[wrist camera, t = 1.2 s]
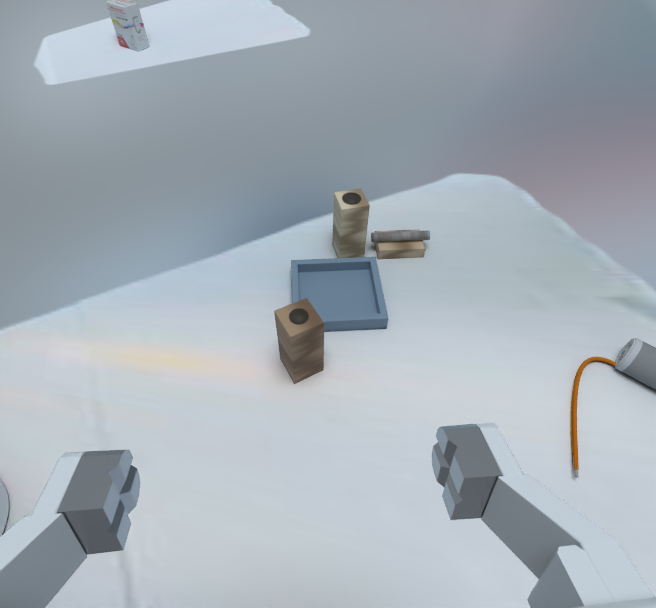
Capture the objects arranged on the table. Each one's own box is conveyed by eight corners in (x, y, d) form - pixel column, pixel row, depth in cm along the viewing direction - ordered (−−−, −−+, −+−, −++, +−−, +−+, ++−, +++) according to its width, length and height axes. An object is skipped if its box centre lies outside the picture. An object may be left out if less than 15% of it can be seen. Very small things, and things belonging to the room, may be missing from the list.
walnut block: (294, 383, 58) (290, 336, 50) (280, 359, 61) (274, 310, 52) (323, 369, 60) (324, 321, 51) (308, 346, 62) (306, 296, 54)
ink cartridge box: (119, 46, 133) (100, -11, 122) (131, 41, 136) (114, -15, 125) (138, 52, 131) (121, -6, 119) (150, 47, 133) (134, -10, 122)
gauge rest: (372, 259, 74) (374, 243, 71) (368, 239, 77) (370, 224, 75) (428, 256, 75) (433, 241, 72) (422, 237, 78) (426, 222, 75)
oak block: (339, 261, 74) (341, 208, 65) (332, 243, 77) (334, 191, 68) (363, 256, 75) (369, 204, 66) (356, 240, 77) (361, 187, 69)
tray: (293, 333, 64) (292, 323, 62) (291, 270, 72) (291, 260, 70) (386, 328, 65) (388, 318, 63) (373, 267, 73) (375, 256, 71)
